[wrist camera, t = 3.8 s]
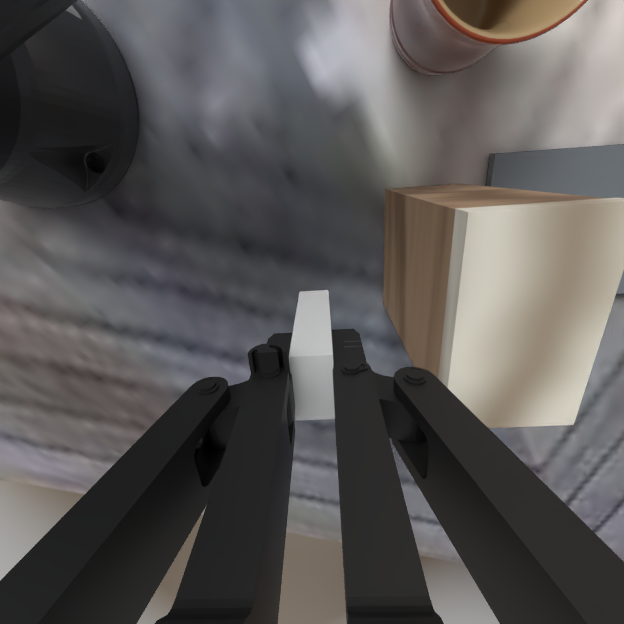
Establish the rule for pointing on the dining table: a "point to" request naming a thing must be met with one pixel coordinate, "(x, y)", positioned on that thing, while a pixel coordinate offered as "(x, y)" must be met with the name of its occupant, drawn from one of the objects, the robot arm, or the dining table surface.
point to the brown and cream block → (503, 293)
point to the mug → (468, 29)
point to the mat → (562, 173)
